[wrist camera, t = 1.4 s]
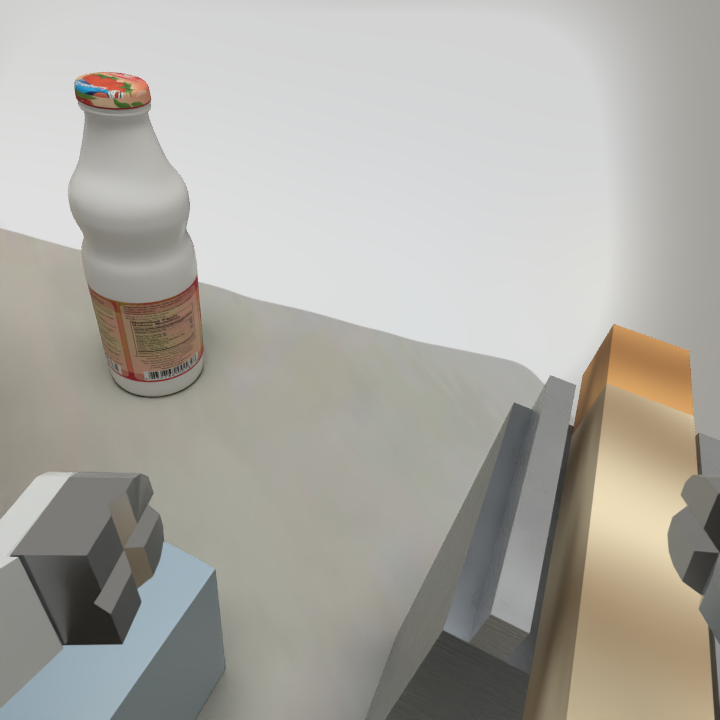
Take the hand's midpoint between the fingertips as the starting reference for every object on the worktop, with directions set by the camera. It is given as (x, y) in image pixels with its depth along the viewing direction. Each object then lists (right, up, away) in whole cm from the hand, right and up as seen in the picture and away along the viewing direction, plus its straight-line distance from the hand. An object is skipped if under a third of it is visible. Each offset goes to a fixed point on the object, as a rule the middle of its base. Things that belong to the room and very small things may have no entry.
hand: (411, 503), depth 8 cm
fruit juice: (-22, +1, +48) cm, 53 cm away
